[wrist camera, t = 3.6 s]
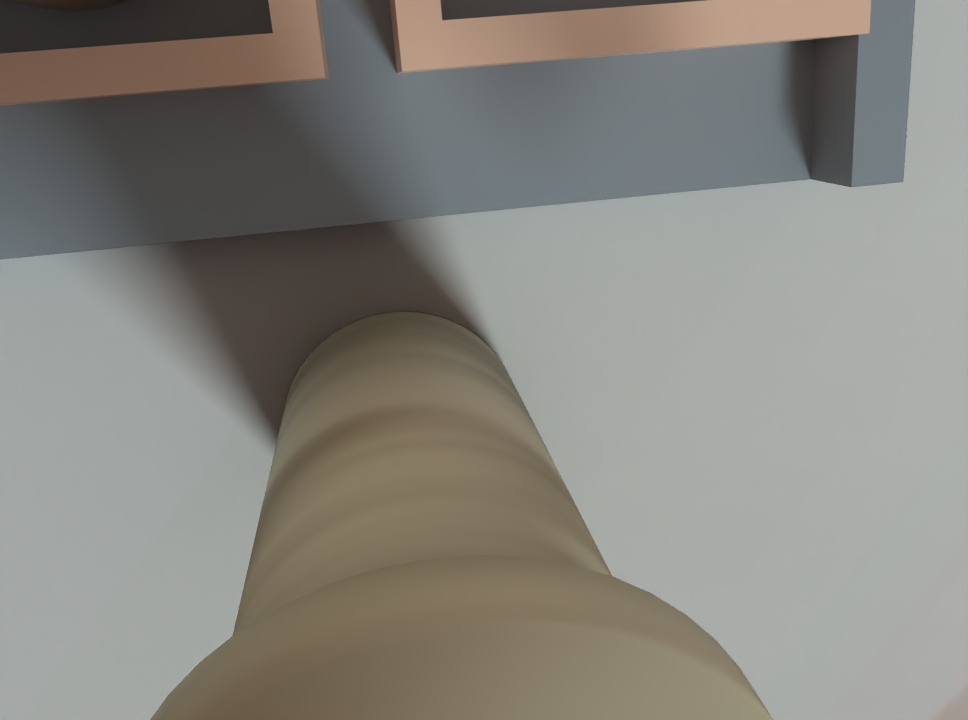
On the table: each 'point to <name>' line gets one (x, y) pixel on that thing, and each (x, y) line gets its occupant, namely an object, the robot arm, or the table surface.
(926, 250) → the table surface
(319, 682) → the cream pawn-shaped knob
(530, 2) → the housing
